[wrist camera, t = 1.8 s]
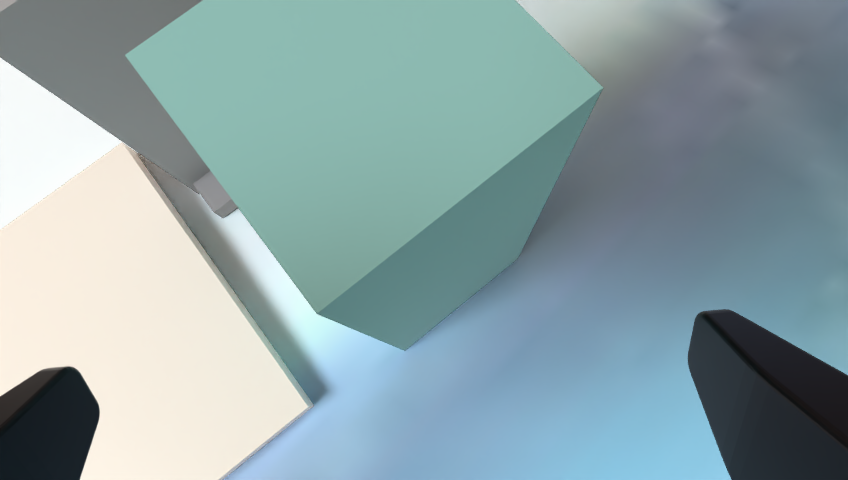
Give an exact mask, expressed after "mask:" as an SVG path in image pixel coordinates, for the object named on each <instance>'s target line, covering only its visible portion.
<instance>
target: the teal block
mask: <svg viewBox="0 0 848 480" xmlns="http://www.w3.org/2000/svg"><path fill="white" fill-rule="evenodd" d="M125 56H126V57H127V59H128V60H129V61H130V63H131V64H132V65H133V67H134V68H135V70H136V71H137V72H138V74H139V75H140V76H141V78H142V79H143V80H144V82H145V83H146V84H147V86H148V87H149V88H150V90H151V91H152V92H153V94H154V95H155V96H156V98H157V99H158V101H159V102H160V103H161V105H162V106H163V107H164V109H165V110H166V111H167V113H168V114H169V115H170V117H171V118H172V119H173V121H174V122H175V123H176V125H177V126H178V127H179V129H180V130H181V131H182V133H183V134H184V136H185V137H186V138H187V140H188V141H189V142H190V144H191V145H192V146H193V148H194V149H195V150H196V152H197V153H198V154H199V156H200V157H201V158H202V160H203V161H204V162H205V164H206V165H207V167H208V168H209V169H210V171H211V172H212V173H213V175H214V176H215V177H216V179H217V180H218V181H219V183H220V184H221V185H222V187H223V188H224V189H225V191H226V192H227V193H228V195H229V196H230V197H231V199H232V200H233V202H234V203H235V204H236V206H237V207H238V208H239V210H240V211H241V212H242V214H243V215H244V216H245V218H246V219H247V220H248V222H249V223H250V224H251V226H252V227H253V228H254V230H255V231H256V232H257V234H258V235H259V237H260V238H261V239H262V241H263V242H264V243H265V245H266V246H267V247H268V249H269V250H270V251H271V253H272V254H273V255H274V257H275V258H276V259H277V261H278V262H279V263H280V265H281V266H282V268H283V269H284V270H285V272H286V273H287V274H288V276H289V277H290V278H291V280H292V281H293V282H294V284H295V285H296V286H297V288H298V289H299V290H300V292H301V293H302V294H303V296H304V297H305V298H306V300H307V301H308V303H309V304H310V305H311V307H312V308H313V309H314V311H315V312H316V313H317V314H319V315H321V316H323V317H326V318H328V319H330V320H333V321H335V322H338V323H340V324H342V325H345V326H347V327H349V328H352V329H354V330H357V331H359V332H361V333H364V334H366V335H368V336H371V337H373V338H376V339H378V340H380V341H383V342H385V343H387V344H390V345H392V346H395V347H397V348H399V349H402V350H404V351H405V350H406V349H408V348H409V347H410V346H411V345H413V344H414V343H415V342H416V341H418V340H419V339H420V338H421V337H422V336H424V335H425V334H426V333H427V332H429V331H430V330H431V329H432V328H433V327H435V326H436V325H437V324H438V323H440V322H441V321H442V320H443V319H445V318H446V317H447V316H448V315H449V314H451V313H452V312H453V311H454V310H456V309H457V308H458V307H459V306H460V305H462V304H463V303H464V302H465V301H467V300H468V299H469V298H470V297H471V296H473V295H474V294H475V293H476V292H478V291H479V290H480V289H481V288H483V287H484V286H485V285H486V284H487V283H489V282H490V281H491V280H492V279H494V278H495V277H496V276H497V275H498V274H500V273H501V272H502V271H503V270H505V269H506V268H507V267H508V266H510V265H511V264H512V263H513V262H514V261H516V260H517V259H518V257H519V255H520V253H521V251H522V249H523V247H524V245H525V243H526V241H527V239H528V237H529V235H530V233H531V231H532V229H533V227H534V225H535V223H536V221H537V219H538V217H539V215H540V213H541V211H542V209H543V207H544V205H545V203H546V201H547V199H548V197H549V195H550V193H551V191H552V189H553V187H554V185H555V183H556V181H557V179H558V177H559V175H560V173H561V171H562V169H563V167H564V165H565V163H566V161H567V159H568V157H569V155H570V153H571V151H572V149H573V147H574V145H575V143H576V141H577V139H578V137H579V135H580V133H581V131H582V129H583V127H584V125H585V123H586V121H587V119H588V117H589V115H590V113H591V111H592V109H593V107H594V105H595V103H596V101H597V99H598V97H599V95H600V93H601V91H602V89H603V87H602V86H601V85H600V84H599V83H598V82H597V81H596V80H595V79H594V78H593V77H592V76H591V75H590V74H589V73H588V72H587V71H586V70H585V69H584V68H583V67H582V66H581V65H580V64H579V63H578V62H577V61H576V60H575V59H574V58H573V57H572V56H571V55H570V54H569V53H568V52H567V51H566V50H565V49H564V48H563V47H562V46H561V45H560V44H559V43H558V42H557V41H556V40H555V39H554V38H553V37H552V36H551V35H550V34H549V33H548V32H547V31H546V30H545V29H544V28H543V27H542V26H541V25H540V24H539V23H538V22H537V21H536V20H535V19H534V18H533V17H532V16H531V15H530V14H529V13H527V12H526V11H525V10H524V9H523V8H522V7H521V6H520V5H519V4H518V3H517V2H516V1H515V0H203V1H201V2H200V3H198V4H197V5H195V6H194V7H193V8H191V9H190V10H188V11H187V12H185V13H184V14H183V15H181V16H180V17H178V18H177V19H175V20H174V21H173V22H171V23H170V24H168V25H167V26H165V27H164V28H163V29H161V30H160V31H158V32H157V33H155V34H154V35H153V36H151V37H150V38H148V39H147V40H145V41H144V42H143V43H141V44H140V45H138V46H137V47H136V48H134V49H133V50H131V51H130V52H128V53H127V54H126V55H125Z"/></svg>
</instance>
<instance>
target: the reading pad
mask: <svg viewBox="0 0 848 480" xmlns="http://www.w3.org/2000/svg"><path fill="white" fill-rule="evenodd" d="M64 366H70V367H74V368H76V369H77V370H78V371H79V372H80V373H81V375H82V376H83V378H84V380H85V382H86V383H87V385H88V387H89V388H90V390H91V392H92V393H93V395H94V397H95V398H96V400H97V402H98V404H99V408H100V417H99V422H98V425H97V428H96V431H95V434H94V437H93V441H92V444H91V447H90V450H89V453H88V456H87V459H86V462H85V465H84V468H83V471H82V475H81V478H80V480H223V479H224V478H225V477H227V476H228V475H229V474H230V473H232V472H233V471H234V470H235V469H237V468H238V467H239V466H240V465H241V464H243V463H244V462H245V461H246V460H248V459H249V458H250V457H251V456H253V455H254V454H255V453H256V452H257V451H259V450H260V449H261V448H262V447H264V446H265V445H266V444H267V443H269V442H270V441H271V440H272V439H273V438H275V437H276V436H277V435H278V434H280V433H281V432H282V431H283V430H285V429H286V428H287V427H288V426H290V425H291V424H292V423H293V422H294V421H296V420H297V419H298V418H299V417H301V416H302V415H303V414H304V413H306V412H307V411H308V410H309V409H310V408H312V407H313V406H314V405H313V403H312V402H311V401H310V399H309V398H308V396H307V395H306V393H305V392H304V391H303V389H302V388H301V386H300V385H299V383H298V382H297V381H296V379H295V378H294V376H293V375H292V373H291V372H290V371H289V369H288V368H287V366H286V365H285V363H284V362H283V361H282V359H281V358H280V356H279V355H278V353H277V352H276V351H275V349H274V348H273V346H272V345H271V343H270V342H269V341H268V339H267V338H266V336H265V335H264V333H263V332H262V331H261V329H260V328H259V326H258V325H257V323H256V322H255V321H254V319H253V318H252V316H251V315H250V314H249V312H248V311H247V309H246V308H245V306H244V305H243V304H242V302H241V301H240V299H239V298H238V297H237V295H236V294H235V292H234V291H233V290H232V288H231V287H230V285H229V284H228V282H227V281H226V280H225V278H224V277H223V275H222V274H221V273H220V271H219V270H218V268H217V267H216V265H215V264H214V263H213V261H212V260H211V258H210V257H209V256H208V254H207V253H206V251H205V250H204V249H203V247H202V246H201V244H200V243H199V241H198V240H197V239H196V237H195V236H194V234H193V233H192V232H191V230H190V229H189V227H188V226H187V225H186V223H185V222H184V220H183V219H182V217H181V216H180V215H179V213H178V212H177V210H176V209H175V208H174V206H173V205H172V203H171V202H170V201H169V199H168V198H167V196H166V195H165V193H164V192H163V191H162V189H161V188H160V186H159V185H158V184H157V182H156V181H155V179H154V178H153V176H152V175H151V174H150V172H149V171H148V169H147V168H146V167H145V165H144V164H143V162H142V161H141V160H140V158H139V157H138V155H137V154H136V152H135V151H134V150H132V149H131V148H129V147H128V146H127V145H125V144H124V143H121V144H119V145H118V146H116V147H115V148H114V149H112V150H111V151H109V152H108V153H107V154H105V155H104V156H102V157H101V158H100V159H98V160H97V161H95V162H94V163H93V164H91V165H90V166H89V167H87V168H86V169H84V170H83V171H82V172H80V173H79V174H77V175H76V176H75V177H73V178H72V179H70V180H69V181H68V182H66V183H65V184H63V185H62V186H61V187H59V188H58V189H57V190H55V191H54V192H52V193H51V194H50V195H48V196H47V197H45V198H44V199H43V200H41V201H40V202H38V203H37V204H36V205H34V206H33V207H31V208H30V209H29V210H27V211H26V212H25V213H23V214H22V215H20V216H19V217H18V218H16V219H15V220H13V221H12V222H11V223H9V224H8V225H6V226H5V227H4V228H2V229H1V230H0V396H1V395H3V394H4V393H6V392H8V391H9V390H11V389H12V388H14V387H15V386H17V385H18V384H20V383H21V382H23V381H24V380H26V379H28V378H29V377H31V376H32V375H34V374H35V373H37V372H38V371H40V370H42V369H46V368H52V367H64Z"/></svg>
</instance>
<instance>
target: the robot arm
mask: <svg viewBox="0 0 848 480" xmlns="http://www.w3.org/2000/svg"><path fill="white" fill-rule="evenodd" d="M688 365H689V370H690V373H691V376H692V378H693V381H694V384H695V386H696V389H697V392H698V394H699V397H700V400H701V402H702V405H703V408H704V410H705V413H706V416H707V418H708V421H709V424H710V427H711V429H712V432H713V435H714V437H715V440H716V443H717V445H718V448H719V451H720V453H721V456H722V458H723V461H724V463H725V466H726V468H727V471H728V473H729V475H730V477H731V479H732V480H848V375H846V374H844V373H843V372H841V371H839V370H837V369H835V368H834V367H832V366H830V365H828V364H827V363H825V362H823V361H821V360H819V359H818V358H816V357H814V356H812V355H811V354H809V353H807V352H805V351H803V350H802V349H800V348H798V347H796V346H795V345H793V344H791V343H789V342H787V341H786V340H784V339H782V338H780V337H778V336H777V335H775V334H773V333H771V332H770V331H768V330H766V329H764V328H762V327H761V326H759V325H757V324H755V323H754V322H752V321H750V320H748V319H746V318H745V317H743V316H741V315H739V314H737V313H736V312H734V311H731V310H726V309H723V310H711V311H703V312H700V313H699V314H698V315H697V316H696V318H695V322H694V327H693V332H692V336H691V341H690V346H689V351H688ZM99 417H100V408H99V404H98V402H97V400H96V398H95V397H94V395H93V393H92V392H91V390H90V388H89V387H88V385H87V383H86V382H85V380H84V378H83V376H82V375H81V373H80V372H79V371H78V370H77V369H76V368H74V367H70V366H64V367H52V368H46V369H42V370H40V371H38V372H37V373H35V374H34V375H32V376H31V377H29V378H28V379H26V380H24V381H23V382H21V383H20V384H18V385H17V386H15V387H14V388H12V389H11V390H9V391H8V392H6V393H4V394H3V395H1V396H0V480H80V478H81V475H82V471H83V468H84V465H85V462H86V459H87V456H88V453H89V450H90V447H91V444H92V441H93V437H94V434H95V431H96V428H97V425H98V422H99Z"/></svg>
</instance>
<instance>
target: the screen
mask: <svg viewBox="0 0 848 480" xmlns="http://www.w3.org/2000/svg"><path fill="white" fill-rule="evenodd" d="M201 1H203V0H0V57H1V58H2V59H3V60H5V61H6V62H8V63H9V64H11V65H12V66H14V67H15V68H16V69H18V70H19V71H21V72H22V73H24V74H25V75H27V76H28V77H30V78H31V79H32V80H34V81H35V82H37V83H38V84H40V85H41V86H43V87H44V88H45V89H47V90H48V91H50V92H51V93H53V94H54V95H56V96H57V97H59V98H60V99H61V100H63V101H64V102H66V103H67V104H69V105H70V106H72V107H73V108H75V109H76V110H77V111H79V112H80V113H82V114H83V115H85V116H86V117H88V118H89V119H90V120H92V121H93V122H95V123H96V124H98V125H99V126H101V127H102V128H104V129H105V130H106V131H108V132H109V133H111V134H112V135H114V136H115V137H117V138H118V139H119V140H121V141H122V142H124V143H125V144H127V145H128V146H130V147H131V148H133V149H134V150H135V151H137V152H138V153H140V154H141V155H143V156H144V157H146V158H147V159H148V160H150V161H151V162H153V163H154V164H156V165H157V166H159V167H160V168H162V169H163V170H164V171H166V172H167V173H169V174H170V175H172V176H173V177H175V178H176V179H178V180H179V181H180V182H182V183H183V184H185V185H186V186H188V187H189V188H191V189H192V190H193V191H195V192H196V193H198V194H199V193H200V194H201V195H202V197H203V198H204V200H205V201H206V202H207V204H208V205H209V206H210V208H211V209H212V211H213V212H214V213H216V214H217V215H219V216H220V217H222V218H224V217H226V216H227V215H228V214H230V213H231V212H232V211H234V210H235V209H236V208H238V207H237V206H236V204H235V203H234V202H233V200H232V199H231V197H230V196H229V195H228V193H227V192H226V191H225V189H224V188H223V187H222V185H221V184H220V183H219V181H218V180H217V179H216V177H215V176H214V175H213V173H212V172H211V171H210V169H209V168H208V167H207V165H206V164H205V162H204V161H203V160H202V158H201V157H200V156H199V154H198V153H197V152H196V150H195V149H194V148H193V146H192V145H191V144H190V142H189V141H188V140H187V138H186V137H185V136H184V134H183V133H182V131H181V130H180V129H179V127H178V126H177V125H176V123H175V122H174V121H173V119H172V118H171V117H170V115H169V114H168V113H167V111H166V110H165V109H164V107H163V106H162V105H161V103H160V102H159V101H158V99H157V98H156V96H155V95H154V94H153V92H152V91H151V90H150V88H149V87H148V86H147V84H146V83H145V82H144V80H143V79H142V78H141V76H140V75H139V74H138V72H137V71H136V70H135V68H134V67H133V65H132V64H131V63H130V61H129V60H128V59H127V57H126V56H125V55H126V54H127V53H128V52H130V51H131V50H133V49H134V48H136V47H137V46H138V45H140V44H141V43H143V42H144V41H145V40H147V39H148V38H150V37H151V36H153V35H154V34H155V33H157V32H158V31H160V30H161V29H163V28H164V27H165V26H167V25H168V24H170V23H171V22H173V21H174V20H175V19H177V18H178V17H180V16H181V15H183V14H184V13H185V12H187V11H188V10H190V9H191V8H193V7H194V6H195V5H197V4H198V3H200V2H201Z"/></svg>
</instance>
